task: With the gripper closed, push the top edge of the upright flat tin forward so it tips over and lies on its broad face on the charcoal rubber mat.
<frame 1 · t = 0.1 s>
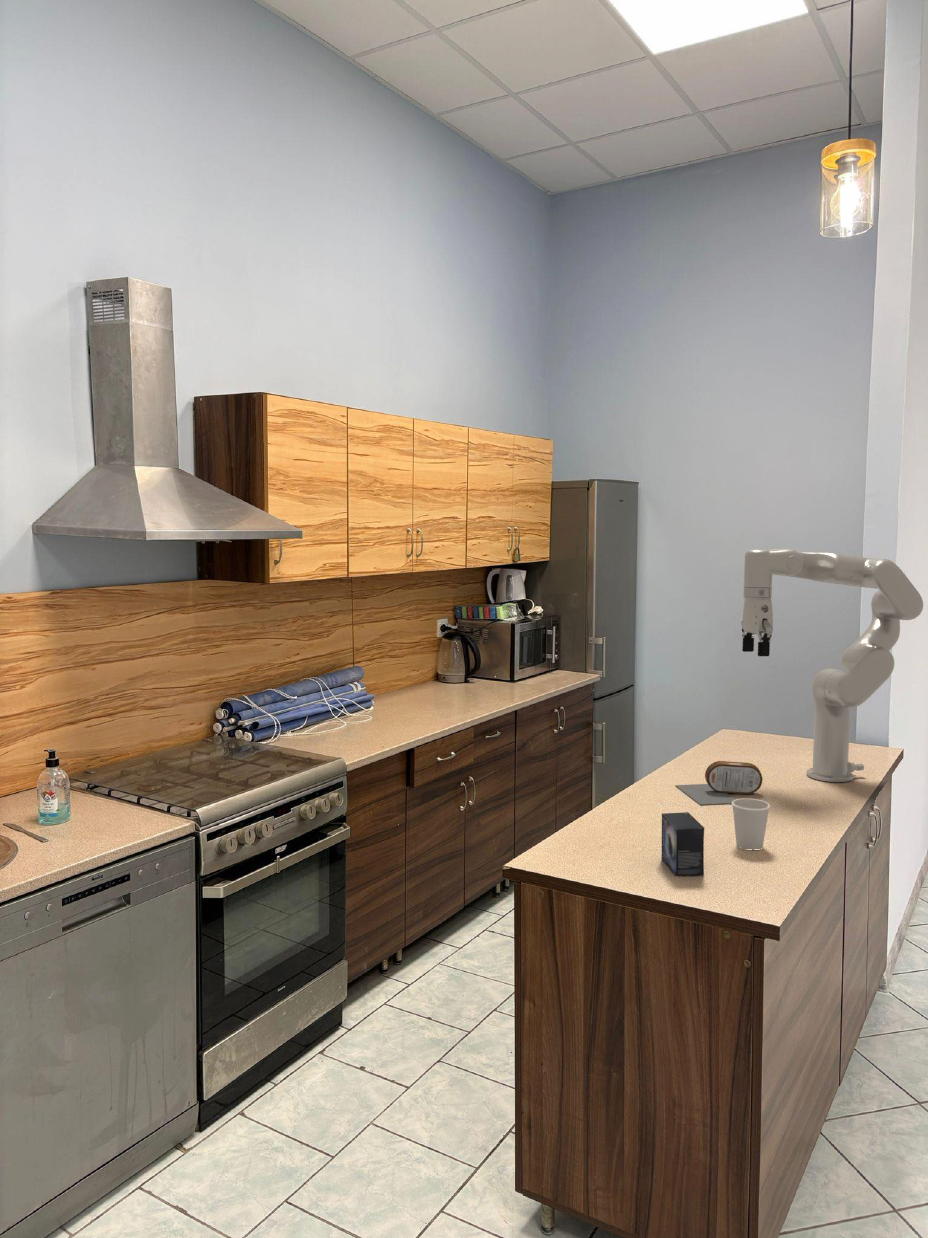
hand: (755, 653, 256), 37 cm above the countertop, tool pointing down, fingers open, 9 cm apart
dixie cup: (749, 847, 205), on the countertop
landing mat: (706, 794, 245), on the countertop
small box: (681, 868, 192), on the countertop
tin: (732, 793, 246), on the countertop, touching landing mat
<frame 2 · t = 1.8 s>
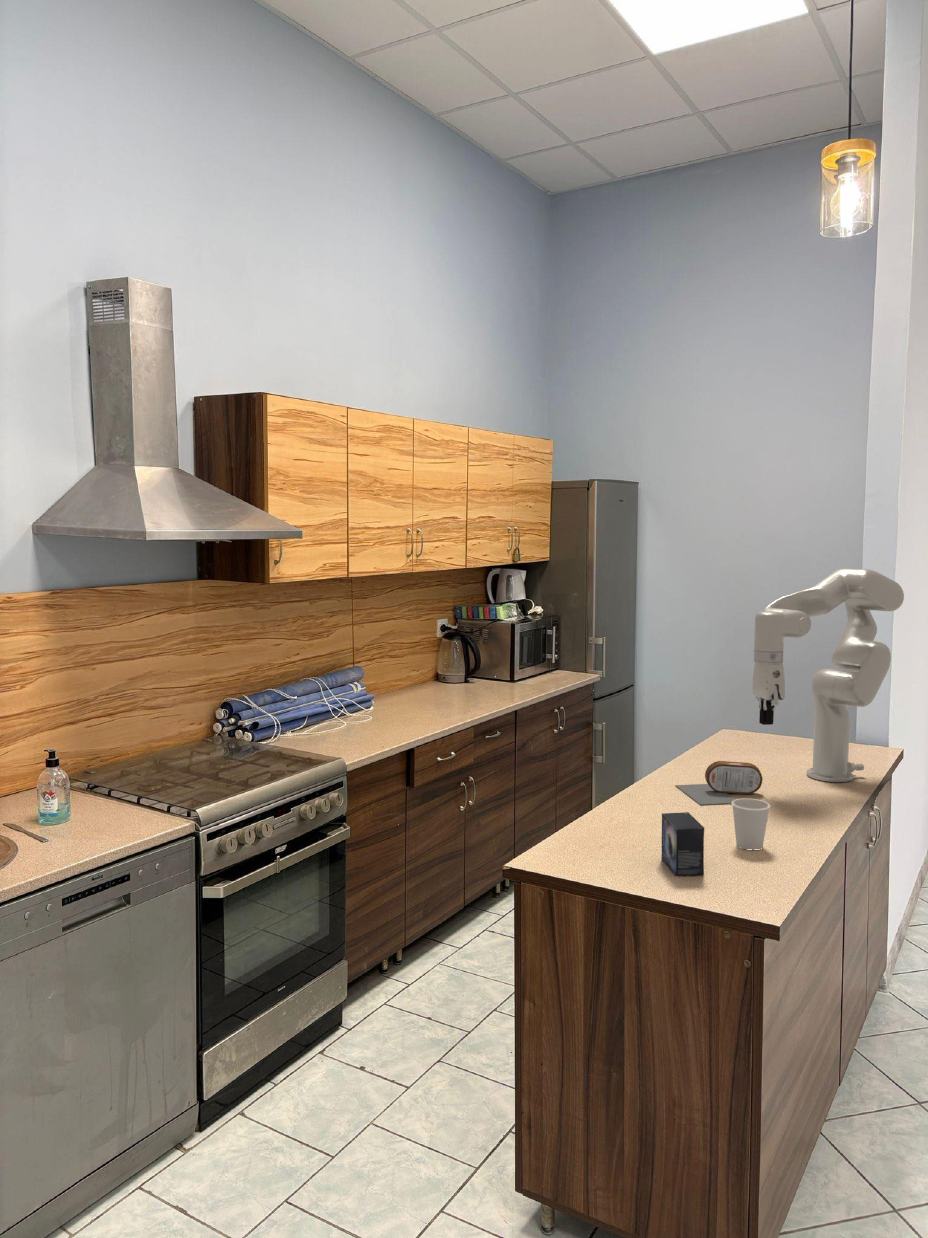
hand: (766, 723, 245), 19 cm above the countertop, tool pointing down, fingers closed
nothing on the countertop moved.
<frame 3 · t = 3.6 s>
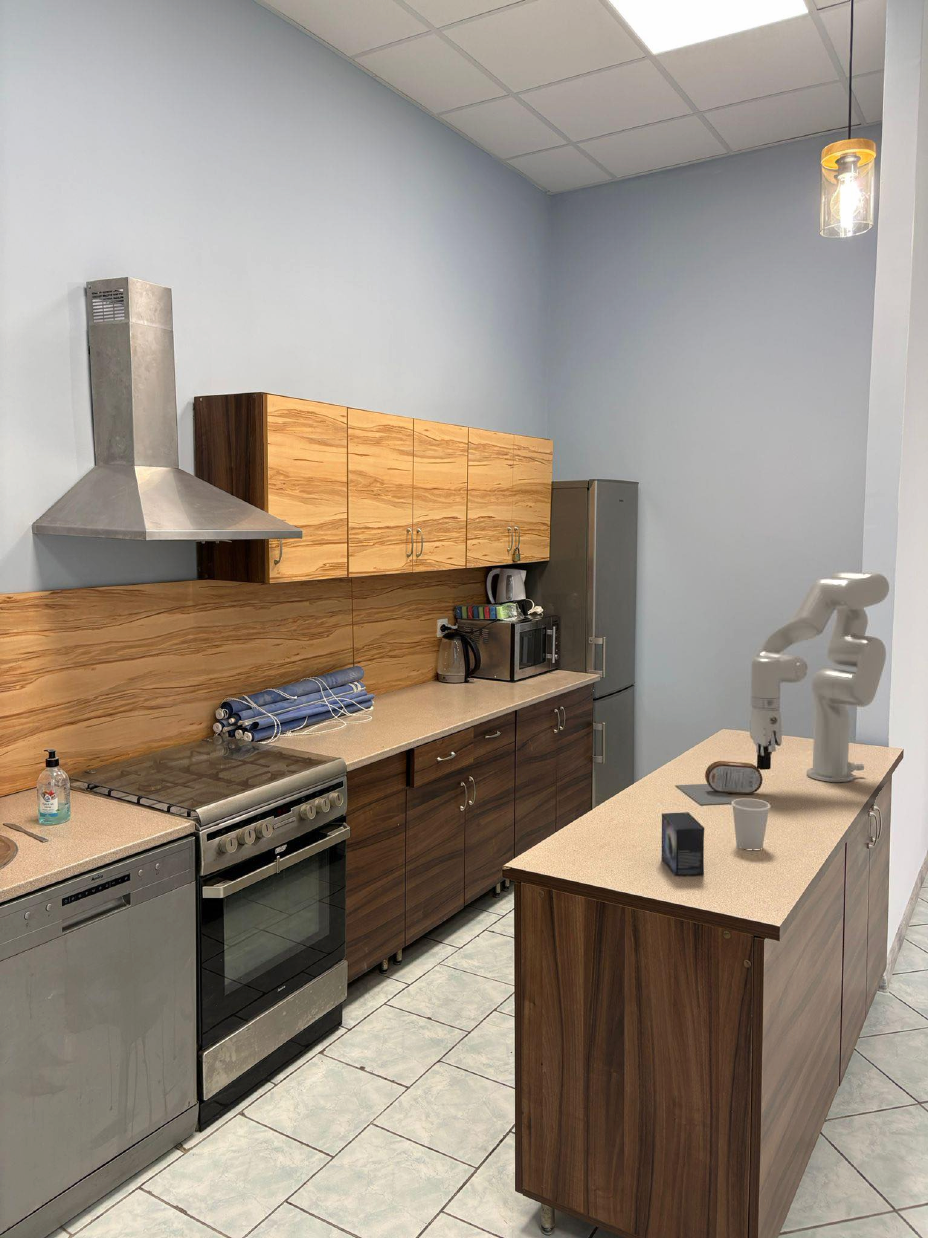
hand: (763, 768, 247), 7 cm above the countertop, tool pointing down, fingers closed
tin: (732, 793, 246), on the countertop, touching gripper, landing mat
everything else where it was.
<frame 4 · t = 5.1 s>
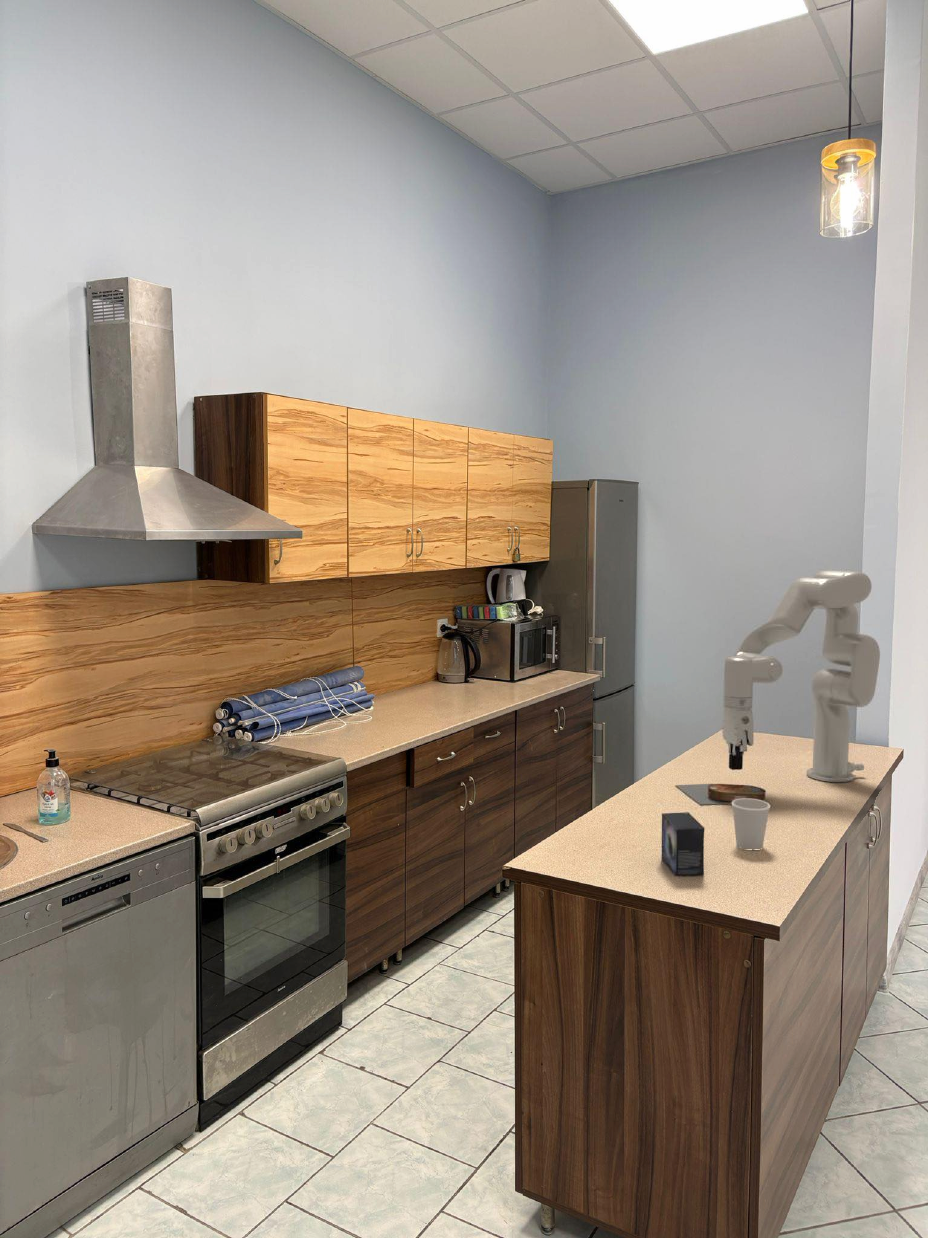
hand: (735, 768, 245), 7 cm above the countertop, tool pointing down, fingers closed
tin: (732, 790, 245), point 1 cm above the countertop, touching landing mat
everything else where it was.
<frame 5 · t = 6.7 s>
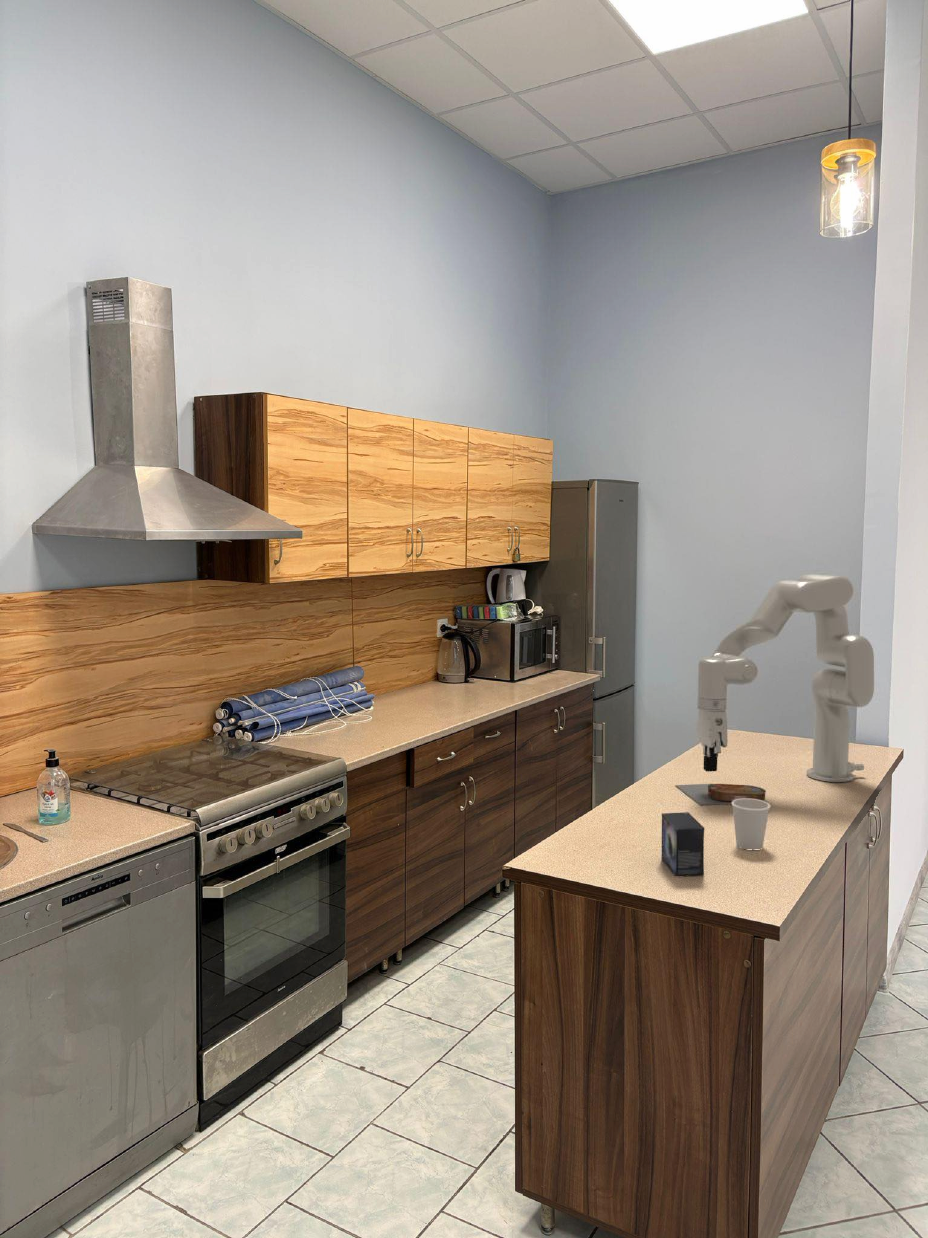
hand: (710, 770, 245), 7 cm above the countertop, tool pointing down, fingers closed
nothing on the countertop moved.
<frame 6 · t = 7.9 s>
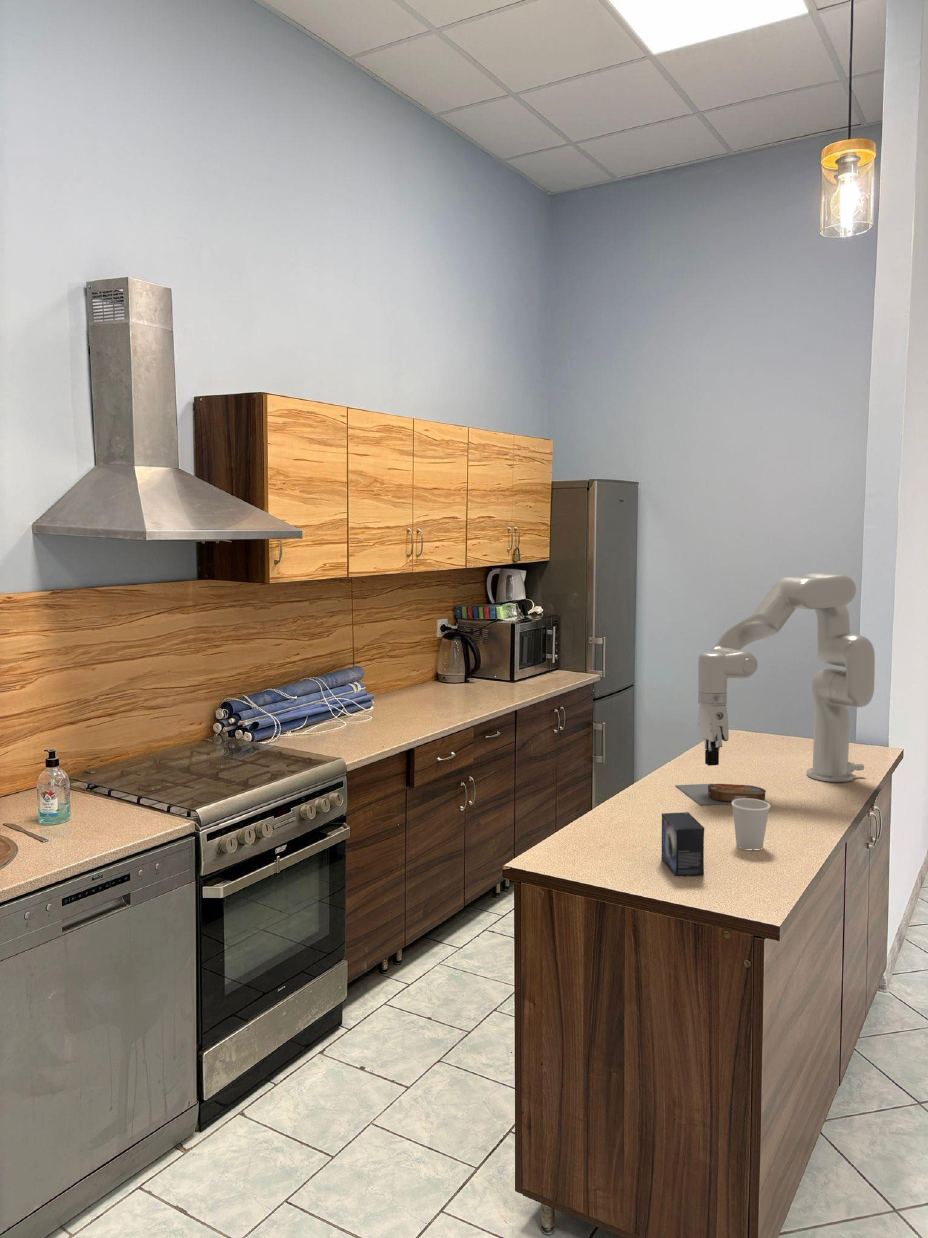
hand: (711, 764, 245), 8 cm above the countertop, tool pointing down, fingers closed
nothing on the countertop moved.
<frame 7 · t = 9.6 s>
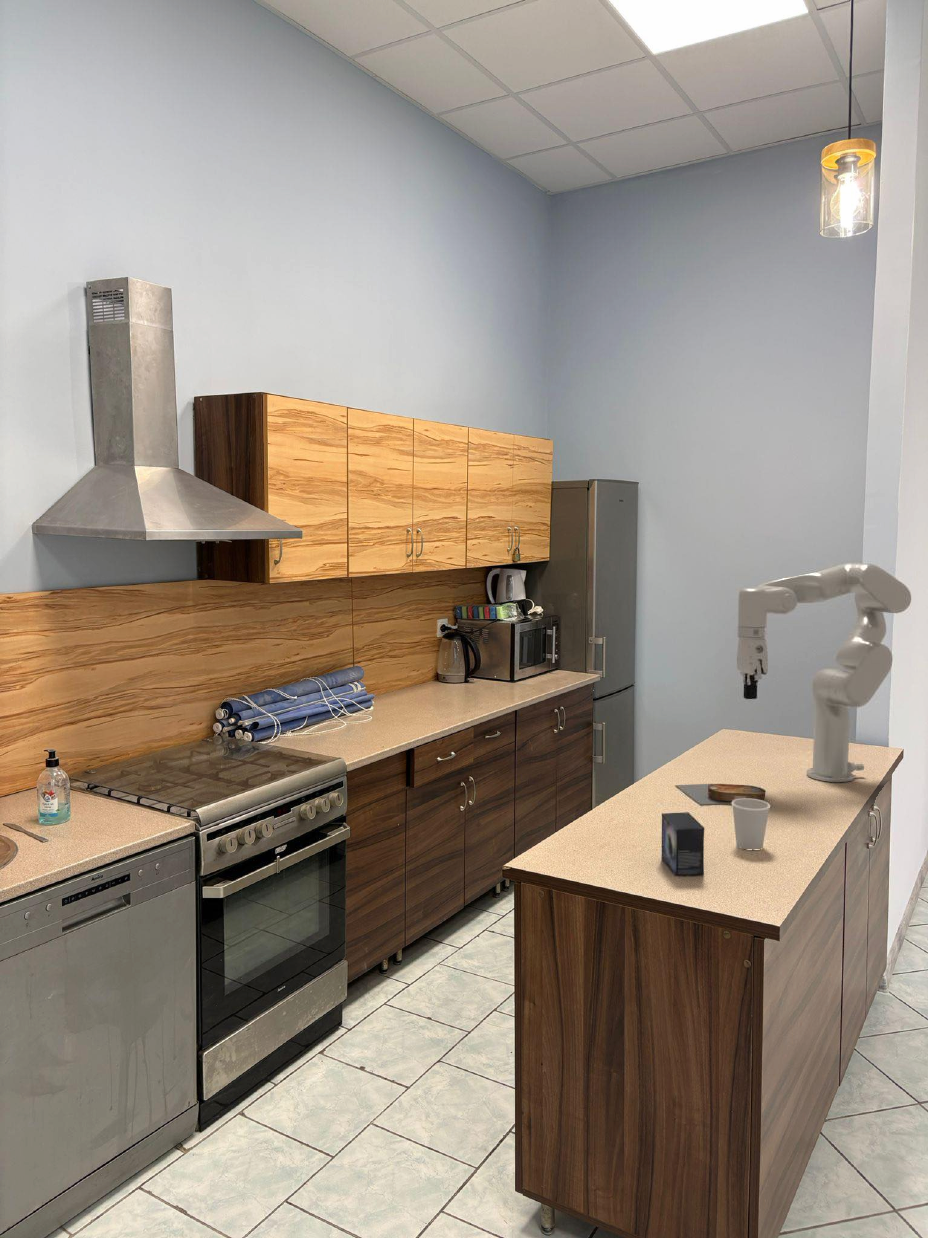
hand: (750, 698, 250), 25 cm above the countertop, tool pointing down, fingers closed
nothing on the countertop moved.
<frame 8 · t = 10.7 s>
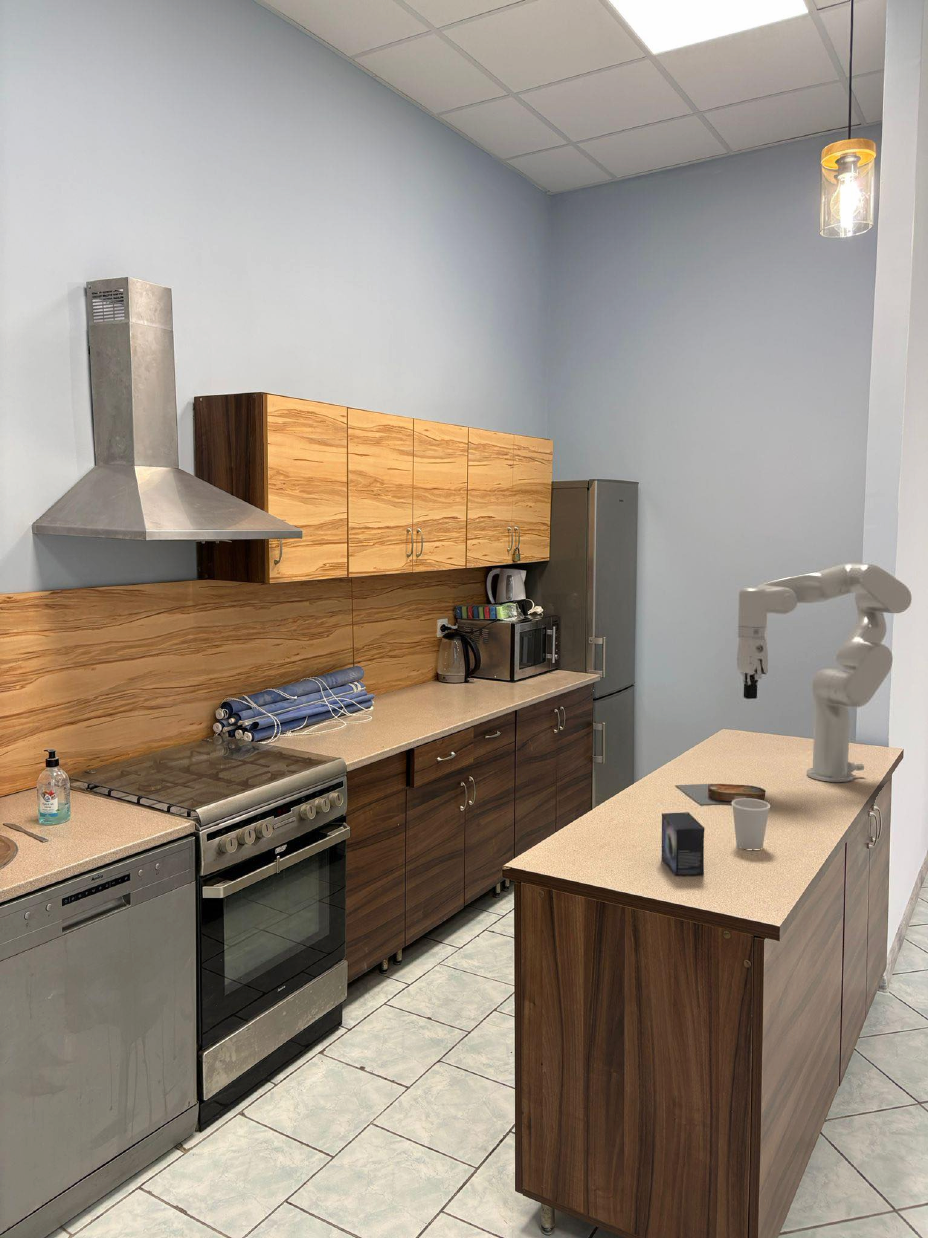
hand: (750, 698, 251), 25 cm above the countertop, tool pointing down, fingers closed
nothing on the countertop moved.
at the end: tin tilted 86°; tin inside the target area (5.5 cm from its centre), point 1.3 cm above the countertop; the gripper is holding nothing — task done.
